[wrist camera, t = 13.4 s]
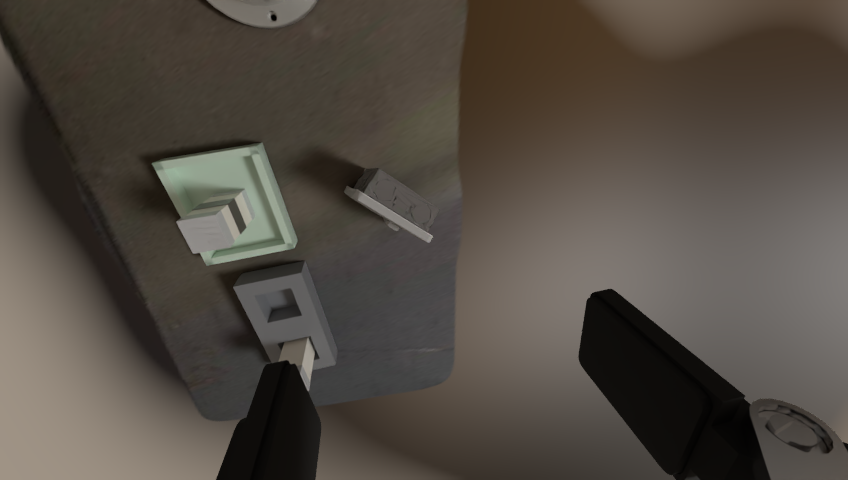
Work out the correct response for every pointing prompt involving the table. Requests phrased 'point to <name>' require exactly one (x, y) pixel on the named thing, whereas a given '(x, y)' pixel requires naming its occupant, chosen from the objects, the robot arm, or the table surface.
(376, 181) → the electrical switch
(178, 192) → the parts tray
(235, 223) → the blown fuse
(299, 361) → the block
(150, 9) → the table surface
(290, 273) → the block
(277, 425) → the robot arm
